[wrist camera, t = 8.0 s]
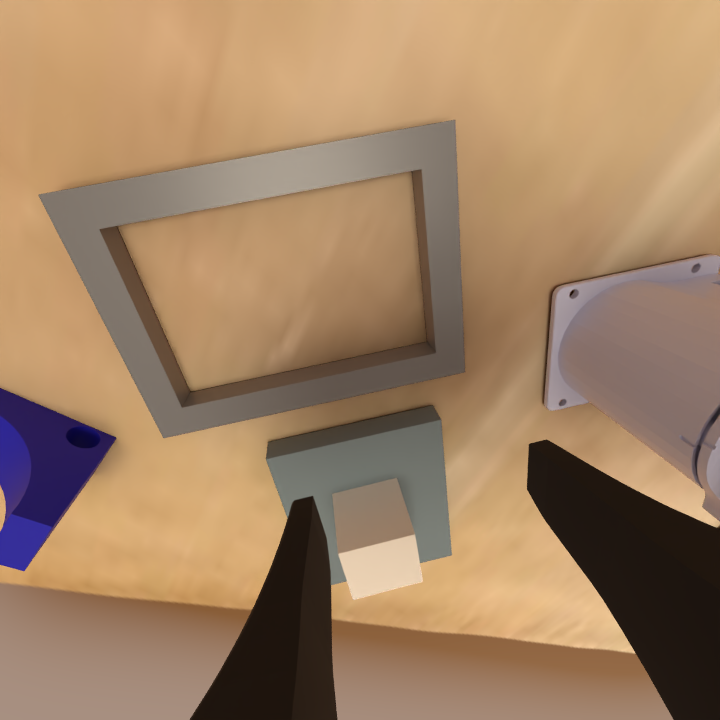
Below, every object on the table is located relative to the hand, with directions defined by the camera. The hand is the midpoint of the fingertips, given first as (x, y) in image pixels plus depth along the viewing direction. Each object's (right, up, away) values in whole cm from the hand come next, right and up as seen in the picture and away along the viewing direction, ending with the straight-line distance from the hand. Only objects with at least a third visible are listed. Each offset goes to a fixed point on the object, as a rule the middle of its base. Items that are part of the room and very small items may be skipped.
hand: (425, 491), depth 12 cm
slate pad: (-2, -5, +13) cm, 14 cm away
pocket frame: (-5, +8, +6) cm, 11 cm away
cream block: (-1, -5, +11) cm, 12 cm away
